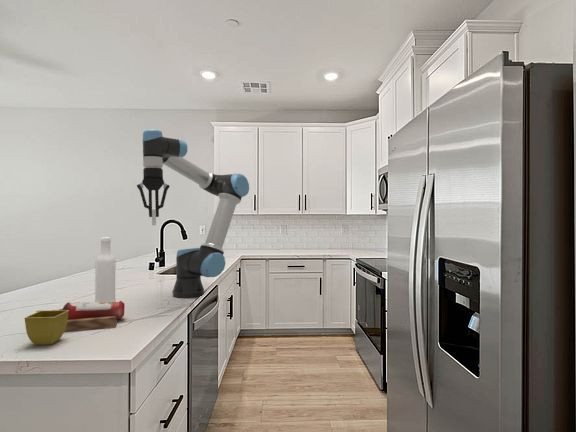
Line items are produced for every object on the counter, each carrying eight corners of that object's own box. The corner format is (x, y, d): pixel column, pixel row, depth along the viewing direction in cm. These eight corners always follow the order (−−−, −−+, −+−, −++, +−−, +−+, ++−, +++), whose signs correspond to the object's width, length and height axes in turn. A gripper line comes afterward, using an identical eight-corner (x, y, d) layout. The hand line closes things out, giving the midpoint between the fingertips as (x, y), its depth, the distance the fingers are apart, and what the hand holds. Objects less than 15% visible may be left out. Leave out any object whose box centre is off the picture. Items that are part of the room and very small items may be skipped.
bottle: (106, 309, 152) (107, 237, 152) (90, 308, 153) (91, 237, 153) (119, 305, 160) (120, 236, 160) (103, 304, 161) (104, 236, 161)
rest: (118, 316, 142) (118, 307, 142) (115, 327, 128) (115, 317, 128) (43, 322, 133) (43, 313, 133) (31, 335, 119) (31, 324, 119)
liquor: (124, 315, 142) (39, 320, 131) (124, 297, 141) (39, 301, 130) (123, 322, 135) (33, 328, 124) (124, 303, 134) (33, 308, 124)
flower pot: (40, 338, 117) (41, 310, 117) (69, 337, 118) (69, 309, 118) (23, 347, 108) (23, 317, 108) (54, 347, 109) (54, 317, 109)
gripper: (169, 169, 156) (170, 224, 156) (136, 168, 151) (137, 225, 152) (170, 167, 149) (171, 225, 149) (135, 166, 144) (136, 225, 145)
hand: (154, 225), depth 151 cm, fingers closed
